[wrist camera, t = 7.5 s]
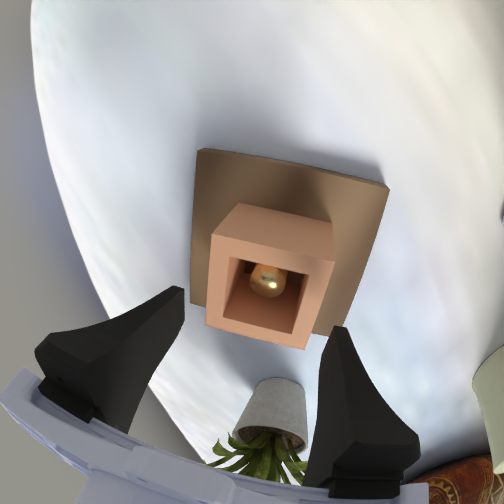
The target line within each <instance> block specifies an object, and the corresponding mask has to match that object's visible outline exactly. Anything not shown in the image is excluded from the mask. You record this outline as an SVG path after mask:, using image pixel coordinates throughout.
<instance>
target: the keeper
mask: <svg viewBox="0 0 504 504" xmlns="http://www.w3.org/2000/svg"><path fill="white" fill-rule="evenodd" d="M389 191H390V189H389V188H388V187H387V186H386V185H384V184H380V183H377V182H373V181H369V180H366V179H362V178H358V177H354V176H350V175H346V174H342V173H338V172H334V171H329V170H325V169H321V168H316V167H312V166H307V165H302V164H297V163H292V162H287V161H282V160H277V159H271V158H266V157H260V156H254V155H248V154H242V153H236V152H229V151H222V150H215V149H207V148H203V149H201V150H198V151H197V161H196V173H195V187H194V202H193V220H192V241H191V269H190V303H192V304H195V305H199V306H202V307H206V303H207V288H208V274H209V261H210V248H211V237H212V233H213V232H214V230H215V229H216V228H217V227H218V226H219V225H220V223H221V222H222V221H223V220H224V219H225V218H226V216H227V215H228V214H229V213H230V212H231V211H232V209H233V208H234V207H235V206H236V205H237V204H238V203H243V204H248V205H253V206H258V207H262V208H267V209H272V210H276V211H281V212H285V213H290V214H294V215H299V216H303V217H307V218H312V219H316V220H320V221H325V222H329V223H332V224H333V237H334V251H335V264H334V267H333V270H332V274H331V277H330V280H329V283H328V286H327V289H326V292H325V295H324V298H323V301H322V303H321V306H320V309H319V312H318V315H317V318H316V320H315V323H314V326H313V329H312V331H311V333H313V334H318V335H323V336H328V337H329V336H330V334H331V331H332V329H333V327H334V325H336V326H341V327H342V326H343V323H344V321H345V319H346V316H347V314H348V311H349V309H350V307H351V304H352V301H353V299H354V296H355V294H356V291H357V289H358V286H359V283H360V281H361V278H362V275H363V273H364V270H365V267H366V264H367V261H368V258H369V256H370V253H371V250H372V247H373V244H374V241H375V238H376V235H377V231H378V228H379V225H380V222H381V219H382V215H383V212H384V209H385V205H386V202H387V198H388V195H389ZM244 273H247V274H251V277H250V286H251V288H252V290H253V291H254V292H255V293H256V294H258V295H259V296H261V297H265V298H274V297H277V296H278V295H280V294H281V293H282V292H283V290H284V287H285V283H289V284H293V285H298V286H300V283H301V279H302V275H303V273H298V272H294V271H290V270H285V269H281V268H277V267H273V266H268V265H264V264H260V263H256V262H251V261H247V260H246V261H245V268H244Z"/></svg>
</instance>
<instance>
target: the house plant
mask: <svg viewBox="0 0 504 504" xmlns="http://www.w3.org/2000/svg"><path fill="white" fill-rule="evenodd" d="M228 435H229V439H228V443H229V445H230V446H231V447H233V448H234V449H237V450H236V451H234V452H233V453H232V452H230V451H228V450H226V449H225V448H223V447H222V445H221V444H220V443H219V439H218V441H217V443H216V444H215V446H214V447H213V448H212V449H213V452H214V453H215V454H216V455H219V456H226V457H224V458H222V459H220V460H218V461H216V462H213V463H210V464H206V463H205V460H204V463H205V465H207V466H211V467H215V466H218V465H220V464H223V463H225V462H226V461H228V460H229V459H231V458H232V457H234V456H236V455H244V456H243V457H242V458H241V459H240V460H238V461H237V462H236V463H235V464H233V465H231V466H229V467H225V468H217V469H221V470H225V471H228V472H234V471H237V470H239V469H240V468H242V467H244V466H245V465H247V464H248V465H247V466H246V467H245V468H244V469H242V470H241V471H240V472H239V473H238V474H240V475H244V476H249V477H253V478H258V479H262V480H267V481H273V482H278V483H280V475H281V477H282V480H283V482H284V484H291V483H290V481H289V479H288V477H287V475H286V473H285V471H284V469H283V467H282V465H281V463H282V461H283V462H284V464H285V466H286V467H287V468H288V470H289V471H290V473H291V474H292V476H293V477H294V478H295V479H296V480H297V482H298V483H299V484H300V485H302V482H303V479H304V476H303V475H302V473H301V472H300V471H302V472H304V473H305V471H306V468H307V464H308V461H306V462H302V461H301V460H300V458H299V457H298V456H297V455H298V454H301V453H302V452H304V451H305V450H306V449H307V448H308V430H307V413H306V399H305V391H304V389H303V388H302V387H301V385H299V384H297V383H295V382H293V381H290V380H287V379H284V378H269V379H265V380H263V381H261V382H260V383H259V384H258V385H257V386H256V388H255V390H254V392H253V394H252V396H251V398H250V400H249V402H248V404H247V406H246V408H245V410H244V411H243V413H242V415H241V417H240V419H239V421H238V423H237V425H236V426H235V428H234V430H233V433H232V437H233V438H232V437H231V436H230V434H229V433H228ZM290 456H292V459H293V460H292V459H291V458H290ZM293 461H294V462H293Z"/></svg>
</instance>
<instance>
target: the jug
mask: <svg viewBox="0 0 504 504" xmlns="http://www.w3.org/2000/svg"><path fill="white" fill-rule="evenodd" d="M415 483H428V486H429V504H504V473H501V474H495V473H494V472H493V461H492V455H477V456H471V457H467V458H463V459H459V460H456V461H453V462H450V463H447V464H444V465H442V466H439V467H437V468H434V469H432V470H430V471H427V472H425V473H424V474H422V475H420V476H418V477H417V478H415V479H414V480H413V481H411V482H410V483H409V484H415Z"/></svg>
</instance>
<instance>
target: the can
mask: <svg viewBox="0 0 504 504" xmlns="http://www.w3.org/2000/svg"><path fill="white" fill-rule="evenodd" d="M472 388H473V390H474V392H475V394H476V396H477V399H478V402H479V406H480V409H481V412H482V416H483V420H484V423H485V427H486V431H487V436H488V440H489V445H490V450H491V455H492V461H493V472H494V473H495V474H501V473H504V345H503V346H502V347H500V348H499V349H498V350H496V351H495V352H494V353H493V354H492V355H490V356H489V357H488V358H487V359H486V360H485V361H484V363H483V364H482V365H481V366H480V368H479V369H478V371H477V372H476V374H475V376H474V378H473V382H472Z"/></svg>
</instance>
